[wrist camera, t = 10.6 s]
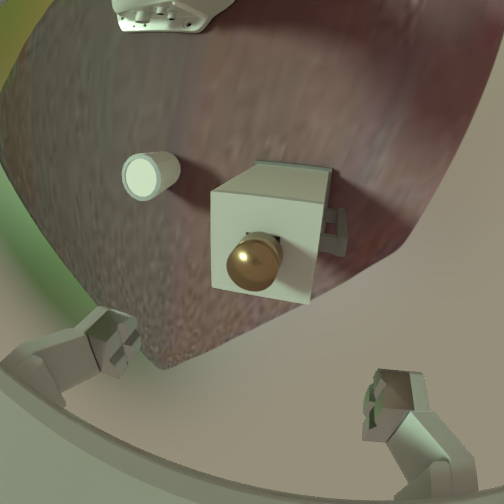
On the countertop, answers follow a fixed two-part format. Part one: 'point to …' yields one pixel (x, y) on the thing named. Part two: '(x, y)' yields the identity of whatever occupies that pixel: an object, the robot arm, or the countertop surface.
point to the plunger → (255, 261)
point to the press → (277, 223)
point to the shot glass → (150, 174)
